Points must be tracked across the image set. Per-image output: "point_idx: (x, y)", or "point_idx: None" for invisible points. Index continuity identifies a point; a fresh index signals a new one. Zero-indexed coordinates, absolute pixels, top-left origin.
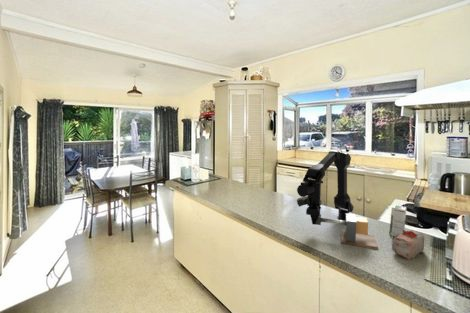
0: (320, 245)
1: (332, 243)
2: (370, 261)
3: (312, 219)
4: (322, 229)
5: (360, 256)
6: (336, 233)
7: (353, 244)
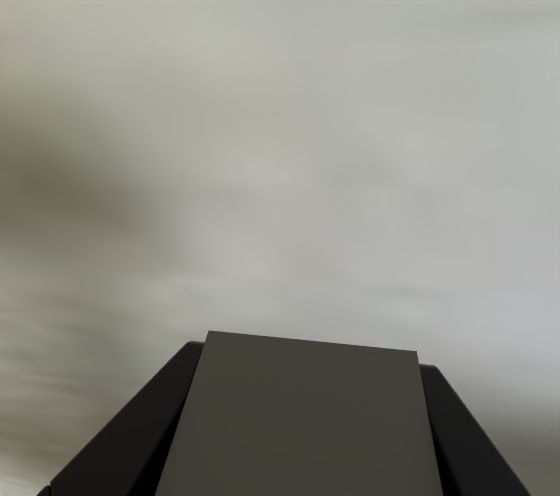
0: (21, 273)
1: (142, 369)
2: (23, 490)
3: (83, 475)
4: (509, 321)
5: (47, 470)
6: None
7: None
